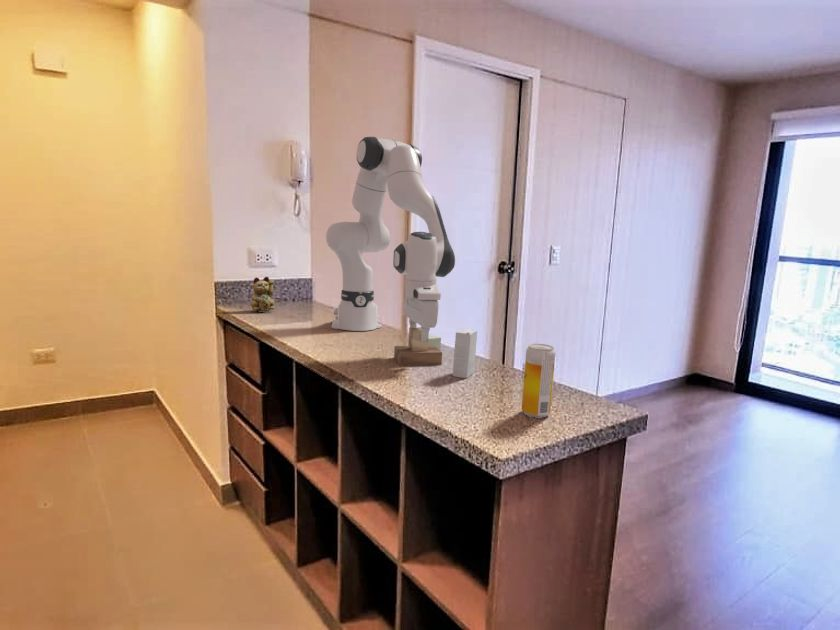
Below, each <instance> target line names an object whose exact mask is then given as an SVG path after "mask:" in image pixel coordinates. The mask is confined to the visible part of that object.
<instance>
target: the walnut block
mask: <svg viewBox="0 0 840 630" xmlns="http://www.w3.org/2000/svg"><path fill="white" fill-rule="evenodd" d="M393 349H394V350H393V352H394V354H393V359H395V361H396V362H397V363H398V364H399V366H400V367H401V366H402V367H403V366H405V367H407V366H409V367H410V366H441V365H442V364H443V362H442V361H443V360H442V359H443V352H442V350H441V349H440V350H439V349H437V348H436V347H435V346H434V345H428V351H412V350H411V349H410V348H408V345H394V347H393Z"/></svg>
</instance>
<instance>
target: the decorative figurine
mask: <svg viewBox="0 0 840 630" xmlns="http://www.w3.org/2000/svg"><path fill="white" fill-rule="evenodd" d="M274 284H275V281H274V280H273V279H270V278H269V277H268V276H264V277H263V279H262V280H260V278H259V277H255V278H253V284H252V289H253V293H252V294H251V297H250V298H251V301H250V306H251V309H252V310H254V311H256V312H257V311H258V312H268V313H271V310H274V309H275V300H274V299H272V298H271V297H272V296H273V294H274V286H273V285H274ZM258 312H257V313H258Z"/></svg>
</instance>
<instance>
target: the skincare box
mask: <svg viewBox="0 0 840 630" xmlns="http://www.w3.org/2000/svg"><path fill="white" fill-rule="evenodd" d="M477 341H478V330H477V329H468V328H462V329H460V330H458V331H456V332H455V341H454V350H453V351H454V353H453V364H452V365H453V367H452V377H456V378H461V379H468V378H469V377H470V376H472V375H473V374H474V373H475V367H476V366H475V364H476V353H477V352H476V351H477Z"/></svg>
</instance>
